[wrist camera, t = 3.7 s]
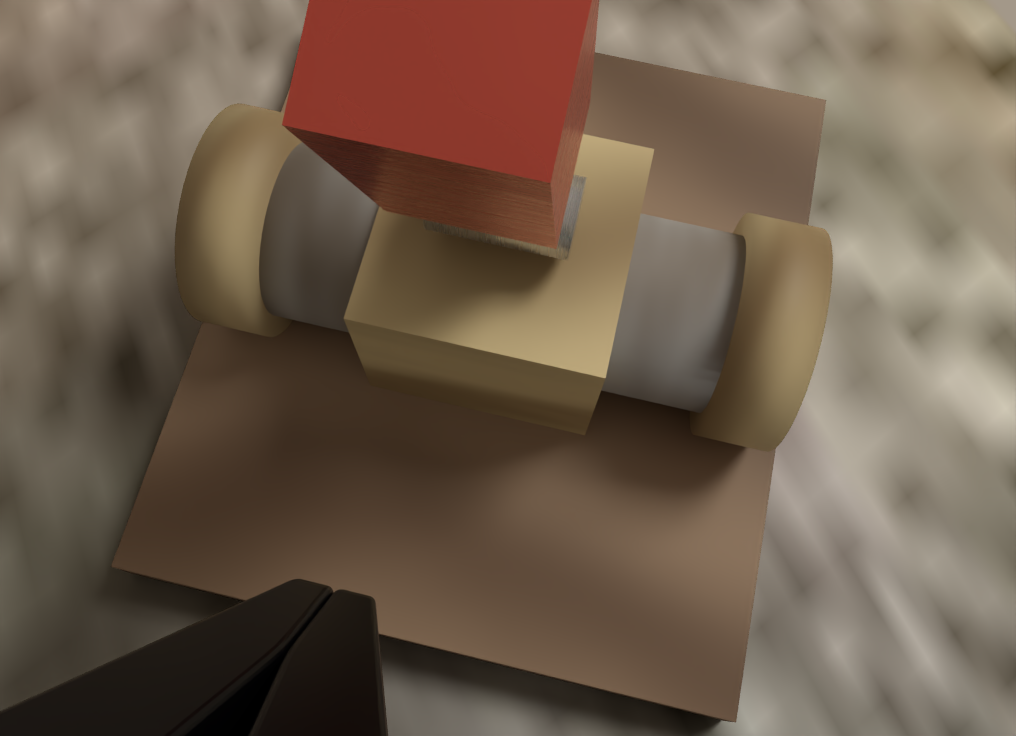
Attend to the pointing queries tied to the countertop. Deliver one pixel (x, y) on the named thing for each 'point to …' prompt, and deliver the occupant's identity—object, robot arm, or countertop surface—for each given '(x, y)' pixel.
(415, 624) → the valve stand
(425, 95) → the lever
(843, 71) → the countertop surface
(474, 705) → the countertop surface
